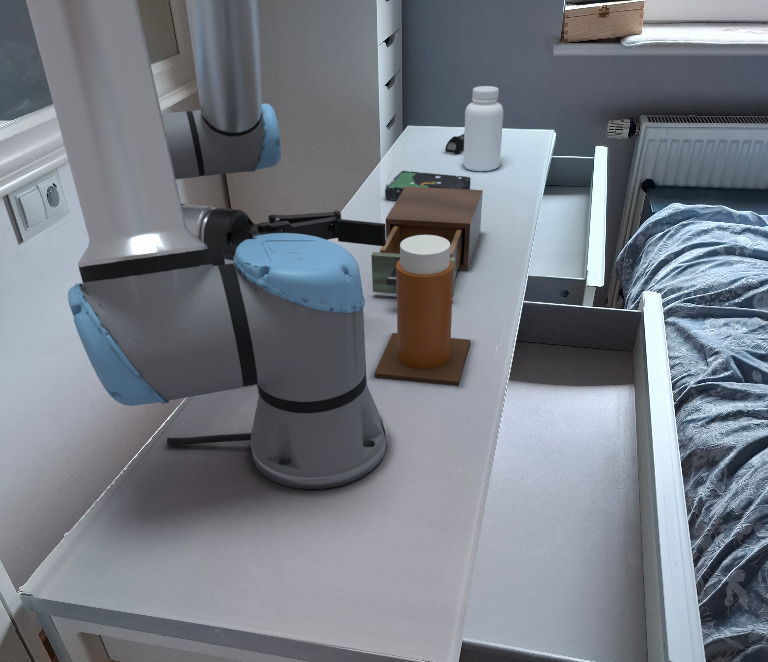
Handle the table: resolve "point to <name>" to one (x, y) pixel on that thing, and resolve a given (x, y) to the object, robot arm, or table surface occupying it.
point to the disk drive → (424, 182)
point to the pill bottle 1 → (424, 301)
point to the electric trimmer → (455, 144)
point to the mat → (441, 375)
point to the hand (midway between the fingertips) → (366, 255)
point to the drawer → (390, 253)
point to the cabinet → (441, 213)
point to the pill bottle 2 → (483, 130)
